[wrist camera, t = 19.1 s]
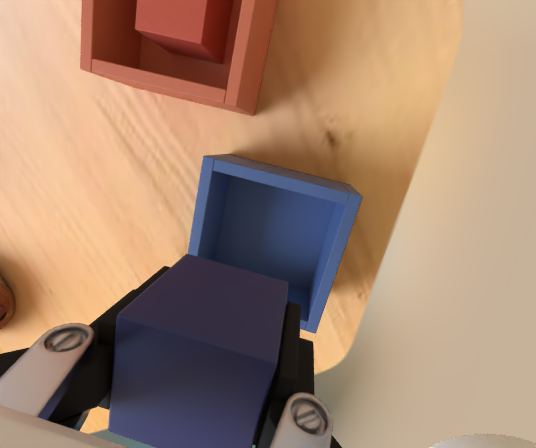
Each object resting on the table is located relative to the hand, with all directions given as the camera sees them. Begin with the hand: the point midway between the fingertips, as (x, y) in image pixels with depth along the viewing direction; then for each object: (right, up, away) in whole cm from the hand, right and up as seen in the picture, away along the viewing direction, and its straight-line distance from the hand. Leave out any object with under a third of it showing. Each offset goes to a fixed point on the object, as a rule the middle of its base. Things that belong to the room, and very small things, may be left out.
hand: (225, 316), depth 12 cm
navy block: (0, 0, 0) cm, 0 cm away
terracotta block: (-3, +19, +9) cm, 21 cm away
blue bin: (+2, +4, +13) cm, 14 cm away
